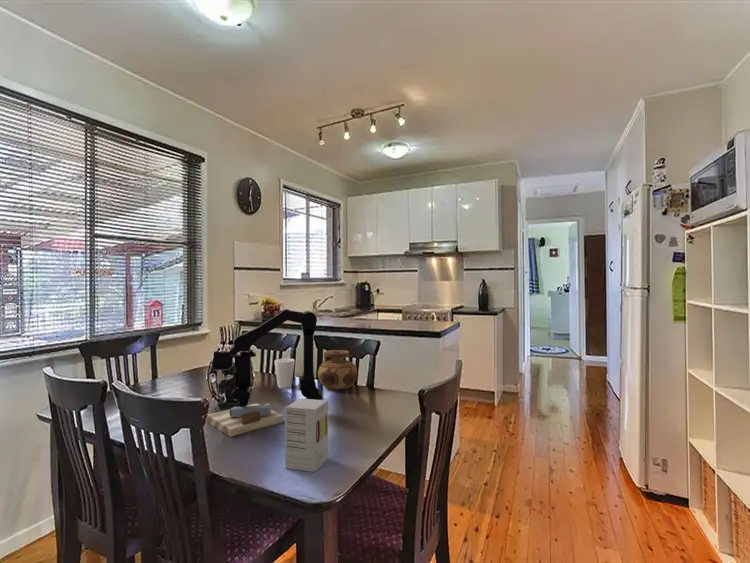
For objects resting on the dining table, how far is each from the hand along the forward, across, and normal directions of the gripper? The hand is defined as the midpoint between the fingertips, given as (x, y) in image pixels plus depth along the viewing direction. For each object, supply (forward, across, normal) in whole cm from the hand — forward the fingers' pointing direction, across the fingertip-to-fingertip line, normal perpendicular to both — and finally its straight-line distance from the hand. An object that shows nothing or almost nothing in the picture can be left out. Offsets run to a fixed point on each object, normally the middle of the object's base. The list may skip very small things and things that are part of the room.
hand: (243, 410), depth 147 cm
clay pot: (+5, -37, +40) cm, 55 cm away
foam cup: (+6, -46, +15) cm, 49 cm away
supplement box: (+2, +41, +21) cm, 46 cm away
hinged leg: (+1, +3, +3) cm, 4 cm away
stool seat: (+4, +2, +1) cm, 4 cm away
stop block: (+1, +10, +3) cm, 10 cm away
